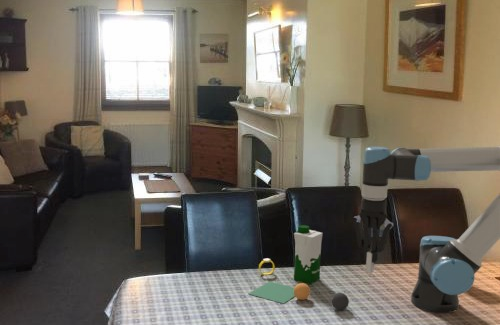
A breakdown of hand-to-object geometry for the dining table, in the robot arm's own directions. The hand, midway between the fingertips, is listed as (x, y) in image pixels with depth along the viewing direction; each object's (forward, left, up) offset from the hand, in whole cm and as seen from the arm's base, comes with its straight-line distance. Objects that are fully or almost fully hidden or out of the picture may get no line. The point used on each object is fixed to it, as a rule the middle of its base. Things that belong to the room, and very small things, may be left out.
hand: (369, 271), depth 175 cm
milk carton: (+30, -17, -15) cm, 38 cm away
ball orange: (+23, 0, -12) cm, 26 cm away
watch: (+45, -13, -15) cm, 50 cm away
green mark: (+33, 0, -15) cm, 37 cm away
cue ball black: (+9, 0, -12) cm, 15 cm away
